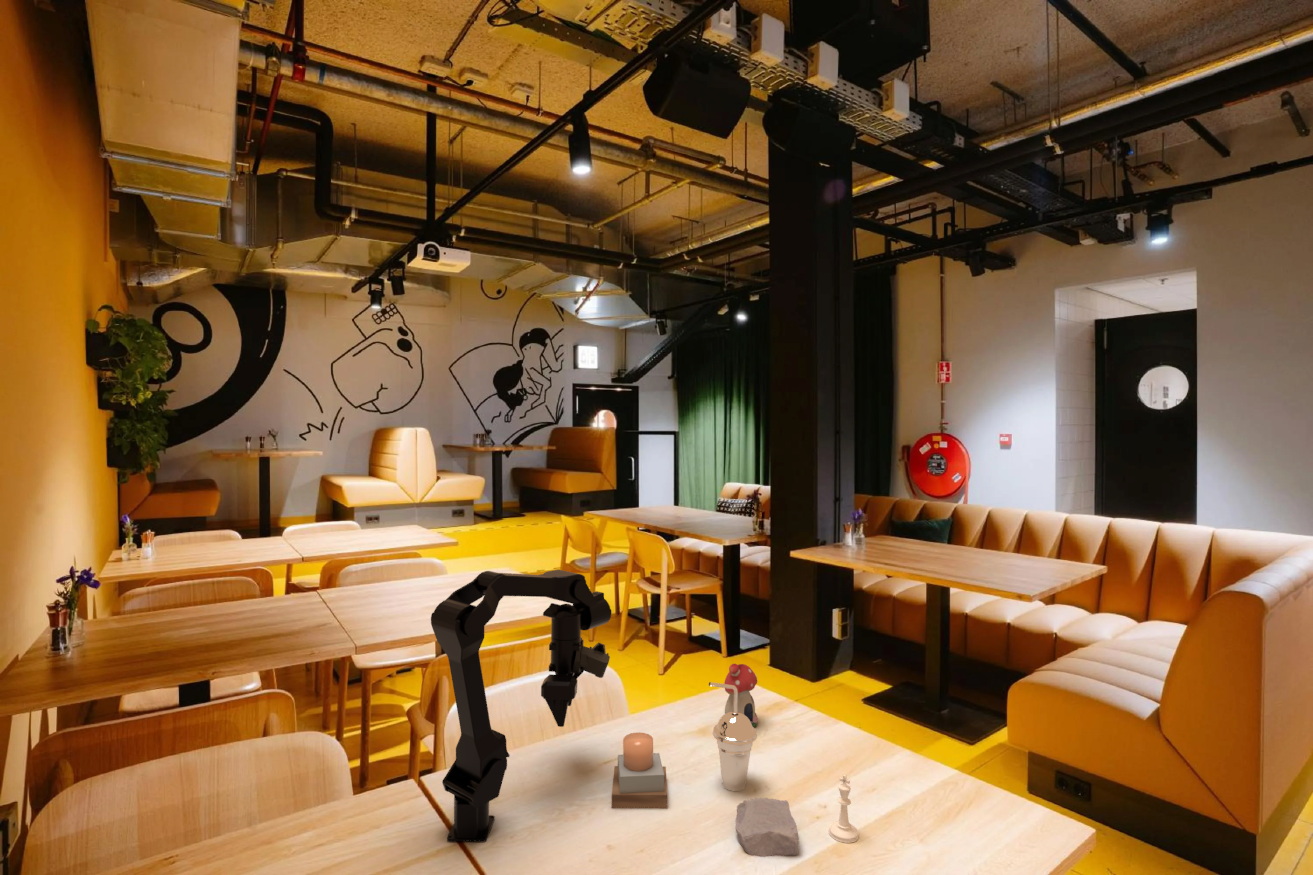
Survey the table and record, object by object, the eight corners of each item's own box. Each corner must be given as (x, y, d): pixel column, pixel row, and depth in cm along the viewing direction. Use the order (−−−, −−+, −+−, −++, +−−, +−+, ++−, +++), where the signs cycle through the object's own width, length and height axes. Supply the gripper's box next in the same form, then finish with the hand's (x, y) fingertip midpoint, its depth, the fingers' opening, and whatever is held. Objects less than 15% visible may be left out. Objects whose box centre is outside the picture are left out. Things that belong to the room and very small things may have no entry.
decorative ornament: (732, 735, 146) (733, 668, 146) (715, 723, 152) (716, 659, 152) (764, 725, 151) (766, 661, 151) (746, 715, 157) (747, 652, 156)
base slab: (667, 811, 118) (667, 794, 118) (611, 811, 118) (611, 794, 118) (665, 781, 128) (665, 766, 128) (614, 781, 128) (614, 765, 128)
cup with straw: (751, 800, 121) (753, 692, 120) (704, 791, 124) (705, 685, 123) (759, 777, 129) (761, 676, 128) (714, 769, 132) (716, 670, 131)
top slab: (663, 790, 119) (664, 774, 119) (619, 793, 118) (620, 776, 118) (658, 768, 127) (659, 752, 127) (617, 769, 126) (617, 754, 126)
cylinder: (654, 770, 120) (653, 746, 120) (623, 771, 120) (623, 747, 120) (652, 754, 126) (652, 731, 126) (623, 756, 126) (623, 732, 126)
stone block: (743, 869, 105) (804, 857, 105) (737, 839, 105) (799, 827, 105) (734, 826, 117) (789, 815, 117) (729, 799, 117) (784, 788, 117)
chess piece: (836, 821, 115) (837, 764, 115) (863, 832, 112) (864, 774, 112) (823, 834, 111) (824, 776, 111) (851, 846, 108) (852, 786, 108)
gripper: (602, 653, 119) (601, 739, 119) (611, 622, 137) (609, 696, 137) (541, 651, 119) (539, 737, 119) (558, 621, 137) (556, 695, 138)
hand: (564, 715), depth 128 cm, fingers open, 9 cm apart
